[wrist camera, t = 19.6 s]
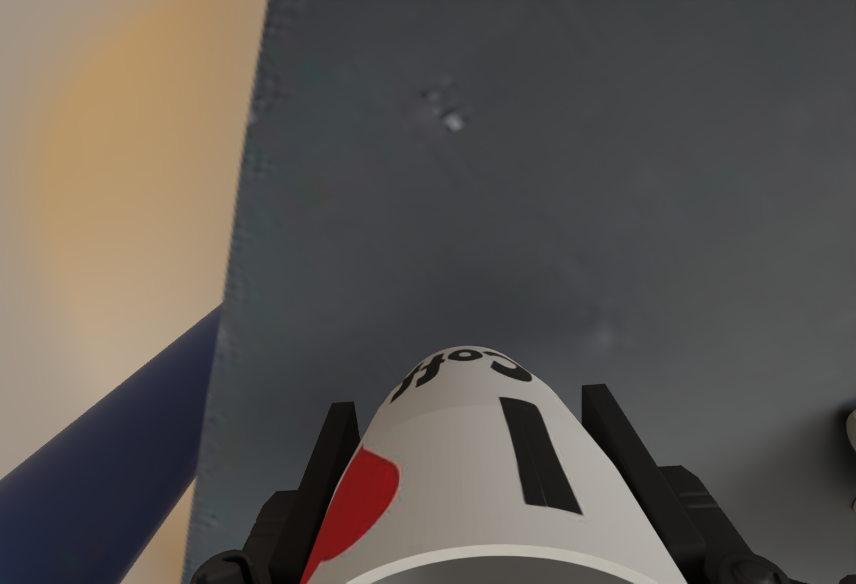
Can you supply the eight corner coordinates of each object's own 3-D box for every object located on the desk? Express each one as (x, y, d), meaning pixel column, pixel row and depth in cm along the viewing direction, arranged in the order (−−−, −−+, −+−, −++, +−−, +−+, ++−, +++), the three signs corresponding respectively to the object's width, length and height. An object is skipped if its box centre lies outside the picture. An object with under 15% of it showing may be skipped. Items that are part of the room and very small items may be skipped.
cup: (543, 272, 16) (691, 482, 7) (603, 466, 18) (774, 823, 9) (320, 348, 17) (173, 620, 8) (404, 522, 20) (369, 892, 10)
